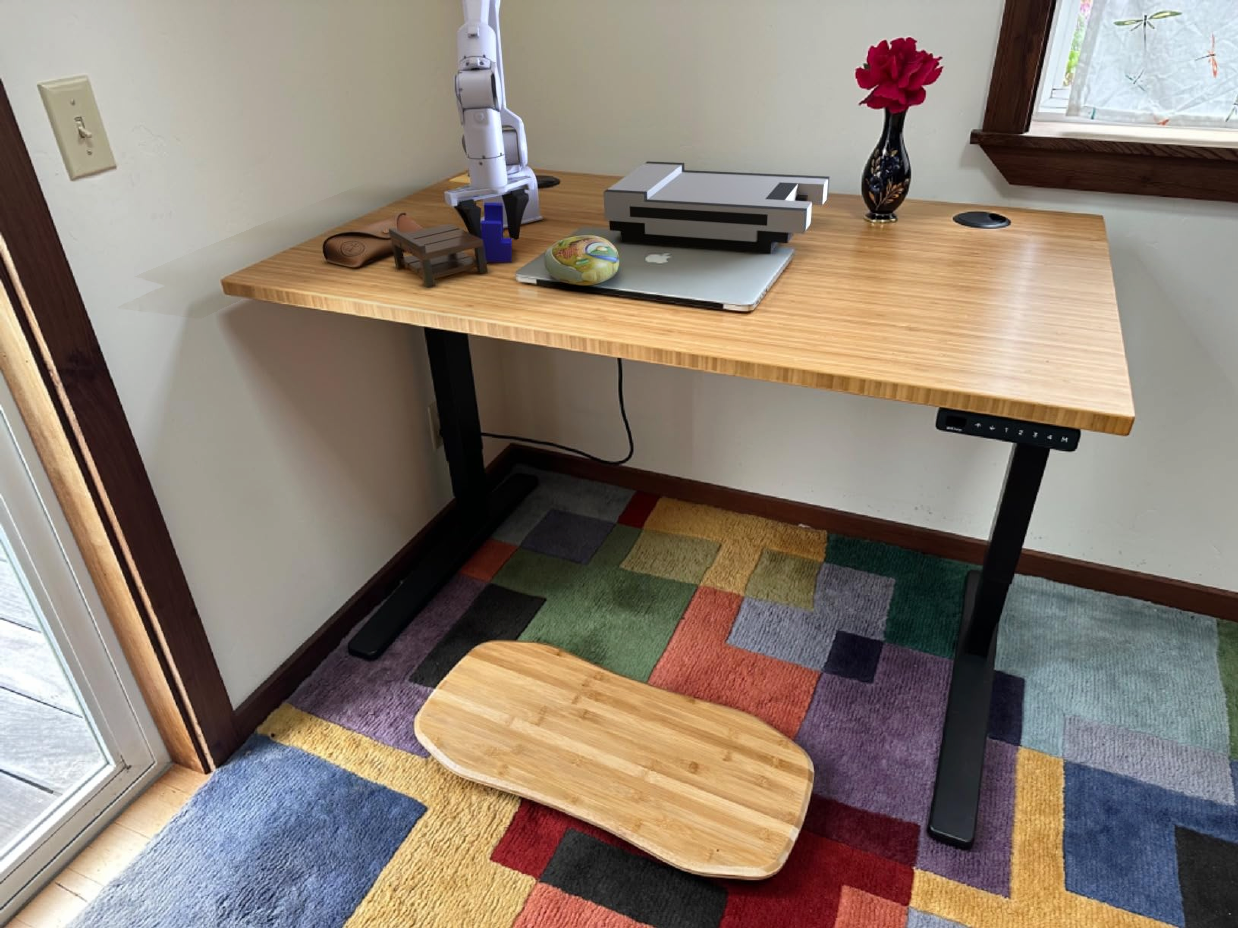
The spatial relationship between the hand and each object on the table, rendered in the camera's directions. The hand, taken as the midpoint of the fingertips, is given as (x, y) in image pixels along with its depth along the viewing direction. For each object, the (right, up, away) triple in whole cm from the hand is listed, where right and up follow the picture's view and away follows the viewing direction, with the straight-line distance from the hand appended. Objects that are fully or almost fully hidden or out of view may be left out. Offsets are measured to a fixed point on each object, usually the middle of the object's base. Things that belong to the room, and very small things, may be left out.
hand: (496, 242), depth 139 cm
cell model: (+15, -8, -11) cm, 20 cm away
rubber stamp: (-8, +18, +32) cm, 38 cm away
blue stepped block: (0, -1, +1) cm, 2 cm away
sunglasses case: (-19, 0, +4) cm, 20 cm away
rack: (-8, -6, -6) cm, 11 cm away
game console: (+36, +3, +5) cm, 37 cm away
